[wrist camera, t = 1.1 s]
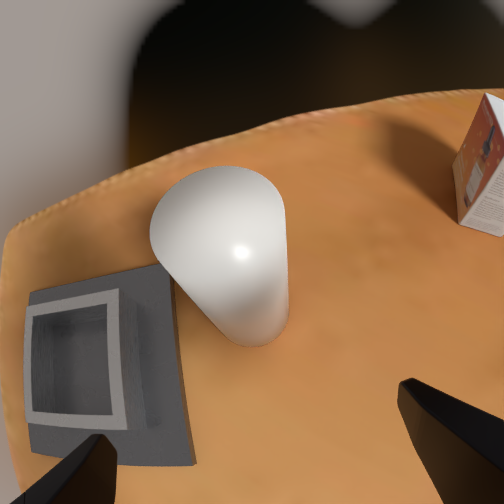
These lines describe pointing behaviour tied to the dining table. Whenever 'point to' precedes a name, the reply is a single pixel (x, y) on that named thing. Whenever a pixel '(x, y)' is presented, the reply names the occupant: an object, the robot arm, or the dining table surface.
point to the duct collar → (108, 368)
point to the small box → (482, 170)
